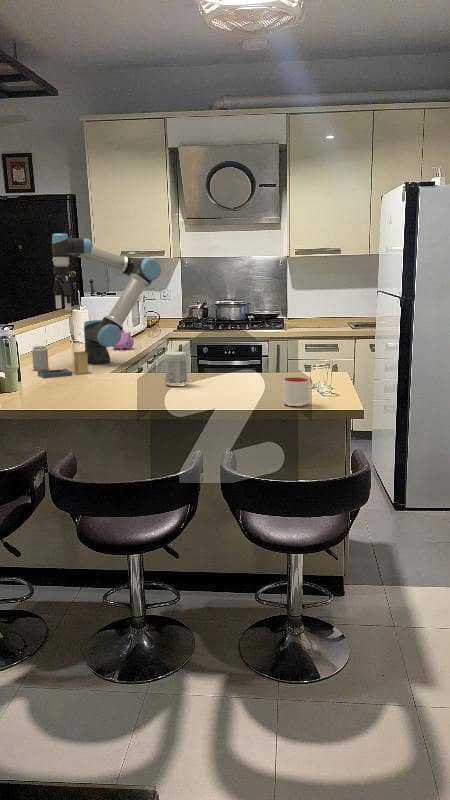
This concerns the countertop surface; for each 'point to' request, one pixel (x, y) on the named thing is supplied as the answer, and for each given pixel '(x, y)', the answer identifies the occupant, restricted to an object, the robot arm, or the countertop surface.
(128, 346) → the teapot
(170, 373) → the supplement tub
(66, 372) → the dark grey flat slab
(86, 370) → the nut block
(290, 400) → the cup
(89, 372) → the rubber pad
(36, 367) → the can
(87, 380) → the countertop surface
